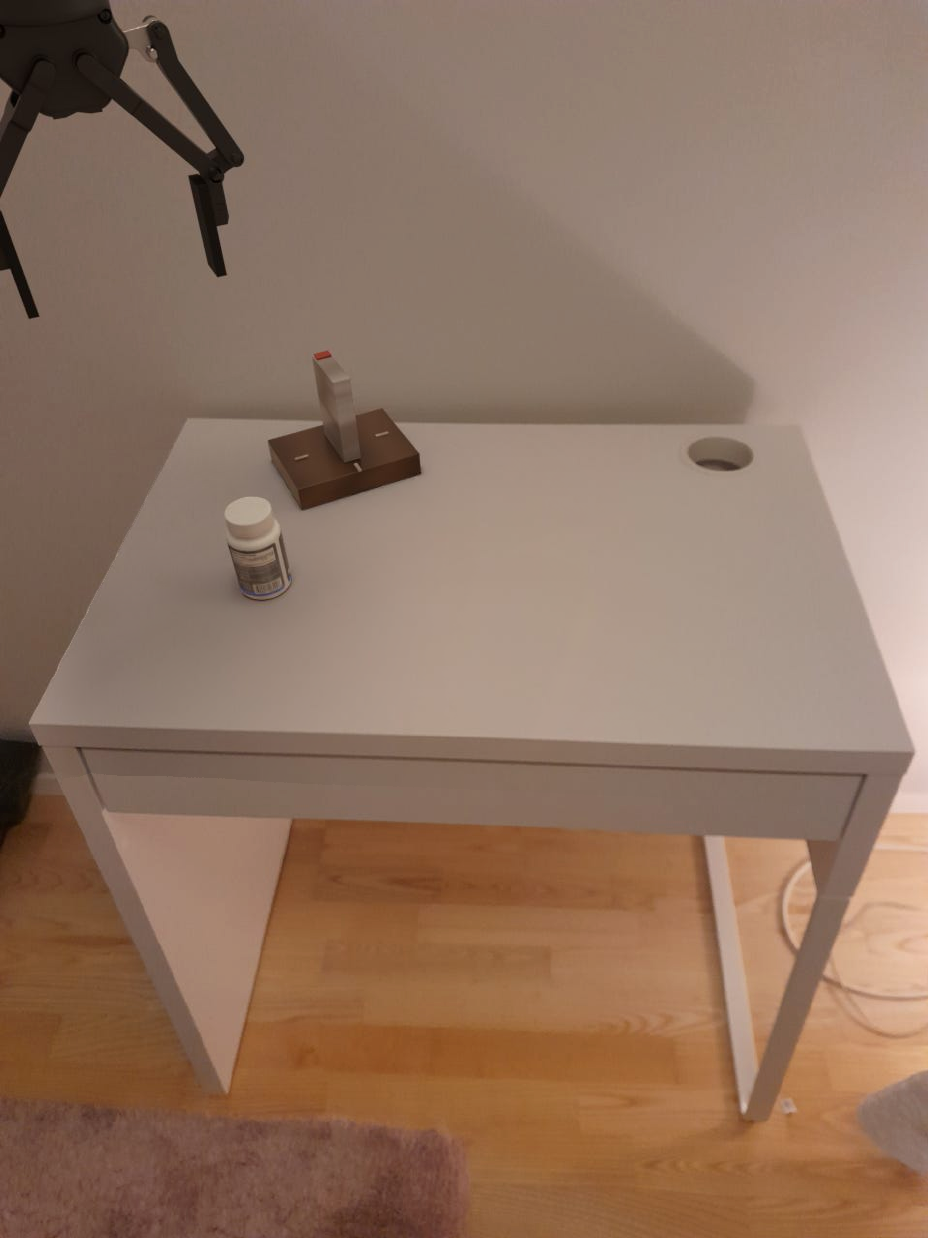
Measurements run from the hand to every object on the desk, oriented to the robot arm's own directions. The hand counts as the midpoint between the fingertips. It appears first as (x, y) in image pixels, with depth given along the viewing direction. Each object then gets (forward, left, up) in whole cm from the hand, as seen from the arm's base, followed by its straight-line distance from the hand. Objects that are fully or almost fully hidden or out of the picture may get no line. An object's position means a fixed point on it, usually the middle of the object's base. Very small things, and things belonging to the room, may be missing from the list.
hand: (127, 290), depth 69 cm
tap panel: (+17, +9, -27) cm, 33 cm away
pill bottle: (+4, -5, -27) cm, 28 cm away
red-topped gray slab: (+17, +9, -24) cm, 31 cm away
